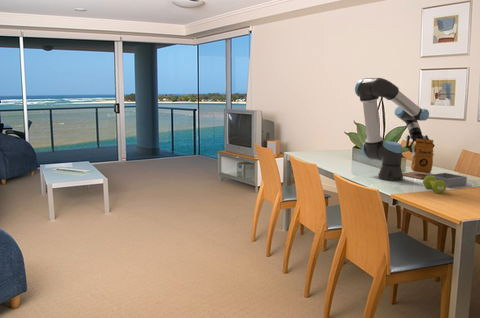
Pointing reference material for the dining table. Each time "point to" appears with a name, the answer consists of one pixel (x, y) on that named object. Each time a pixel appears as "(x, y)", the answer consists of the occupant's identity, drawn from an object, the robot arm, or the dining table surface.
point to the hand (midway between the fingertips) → (423, 156)
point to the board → (416, 175)
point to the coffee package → (423, 156)
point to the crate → (450, 179)
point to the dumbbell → (434, 184)
